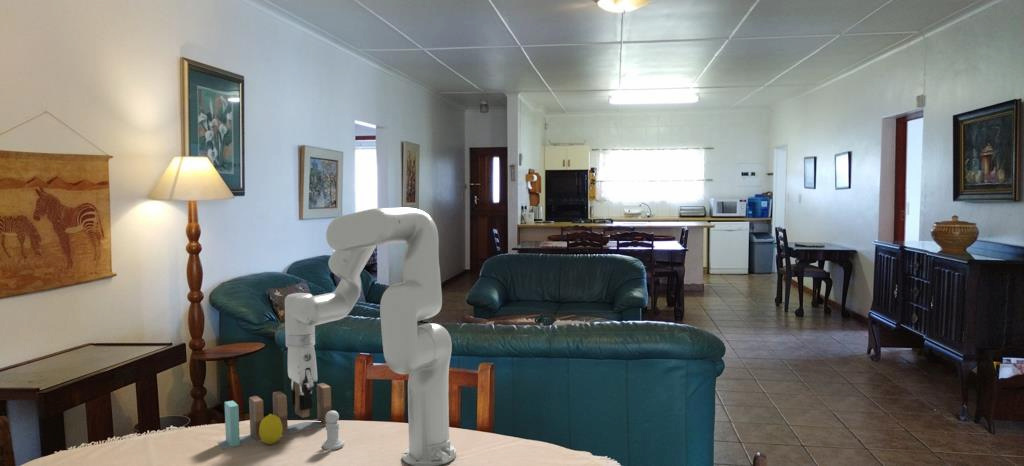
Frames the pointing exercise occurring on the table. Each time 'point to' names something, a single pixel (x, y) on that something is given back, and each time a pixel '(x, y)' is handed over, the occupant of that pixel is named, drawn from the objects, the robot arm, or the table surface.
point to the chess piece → (332, 431)
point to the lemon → (270, 429)
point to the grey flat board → (291, 429)
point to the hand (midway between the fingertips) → (301, 405)
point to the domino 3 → (297, 409)
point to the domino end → (232, 423)
